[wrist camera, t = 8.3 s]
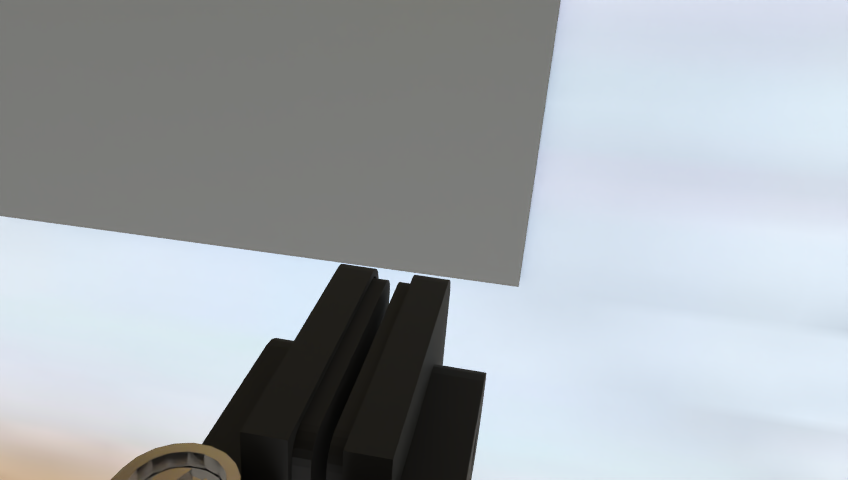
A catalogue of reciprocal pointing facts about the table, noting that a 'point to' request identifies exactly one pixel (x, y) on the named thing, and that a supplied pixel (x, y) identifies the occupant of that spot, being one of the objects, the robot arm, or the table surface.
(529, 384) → the table surface
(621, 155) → the table surface
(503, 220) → the mat
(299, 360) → the robot arm
